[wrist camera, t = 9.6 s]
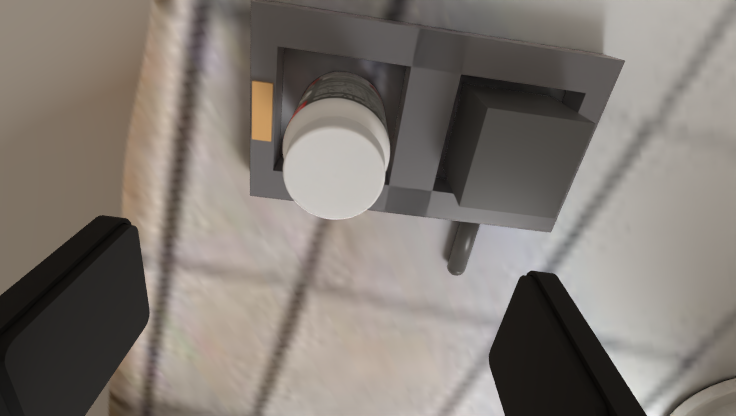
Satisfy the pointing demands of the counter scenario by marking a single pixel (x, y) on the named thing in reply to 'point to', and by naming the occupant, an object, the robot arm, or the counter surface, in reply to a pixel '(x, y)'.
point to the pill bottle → (337, 147)
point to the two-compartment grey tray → (444, 117)
